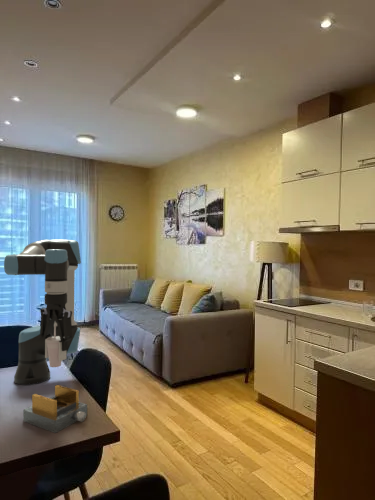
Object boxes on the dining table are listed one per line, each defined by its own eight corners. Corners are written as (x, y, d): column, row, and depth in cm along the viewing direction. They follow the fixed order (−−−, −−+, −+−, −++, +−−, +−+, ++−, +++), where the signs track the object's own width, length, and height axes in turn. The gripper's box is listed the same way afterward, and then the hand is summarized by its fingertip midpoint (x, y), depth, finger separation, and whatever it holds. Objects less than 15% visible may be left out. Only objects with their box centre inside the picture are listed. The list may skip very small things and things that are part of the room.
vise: (23, 421, 122) (23, 395, 122) (56, 405, 134) (56, 382, 134) (61, 435, 113) (62, 407, 113) (93, 417, 125) (93, 392, 125)
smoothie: (58, 361, 129) (59, 323, 129) (68, 365, 125) (68, 325, 125) (42, 365, 124) (42, 326, 124) (51, 369, 120) (52, 328, 120)
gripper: (28, 292, 126) (28, 357, 126) (66, 295, 117) (66, 365, 116) (46, 290, 132) (46, 351, 132) (83, 293, 123) (83, 359, 123)
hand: (55, 358), depth 124 cm, fingers closed on smoothie, 6 cm apart
